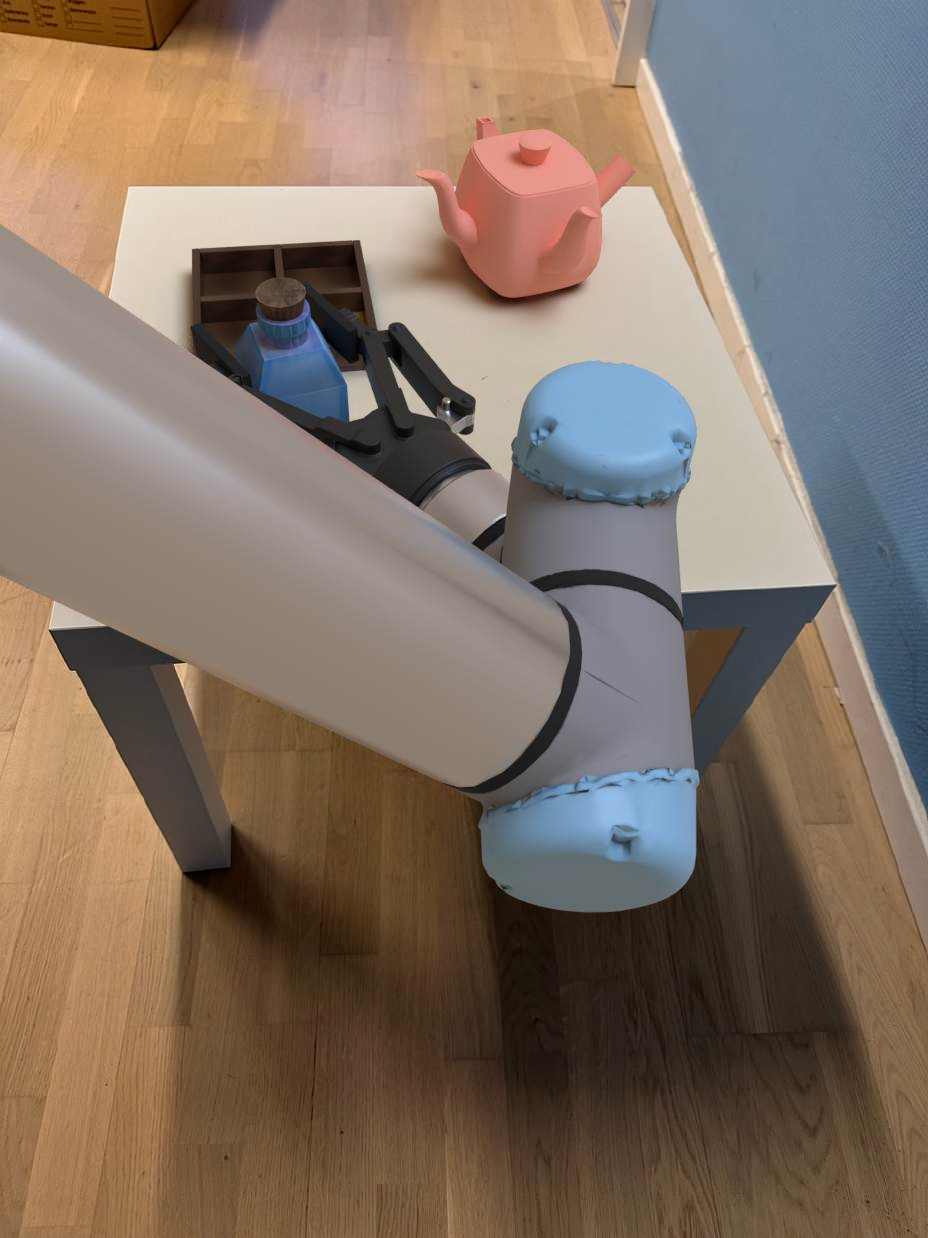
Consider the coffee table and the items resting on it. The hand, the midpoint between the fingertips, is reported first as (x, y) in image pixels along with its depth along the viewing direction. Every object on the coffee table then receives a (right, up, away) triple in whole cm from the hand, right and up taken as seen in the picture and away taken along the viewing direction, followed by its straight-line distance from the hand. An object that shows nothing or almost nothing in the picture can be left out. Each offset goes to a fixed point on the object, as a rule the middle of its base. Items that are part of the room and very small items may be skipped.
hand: (252, 319), depth 63 cm
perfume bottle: (+3, -7, +4) cm, 9 cm away
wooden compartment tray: (-3, +9, +28) cm, 30 cm away
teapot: (+21, +17, +35) cm, 45 cm away
